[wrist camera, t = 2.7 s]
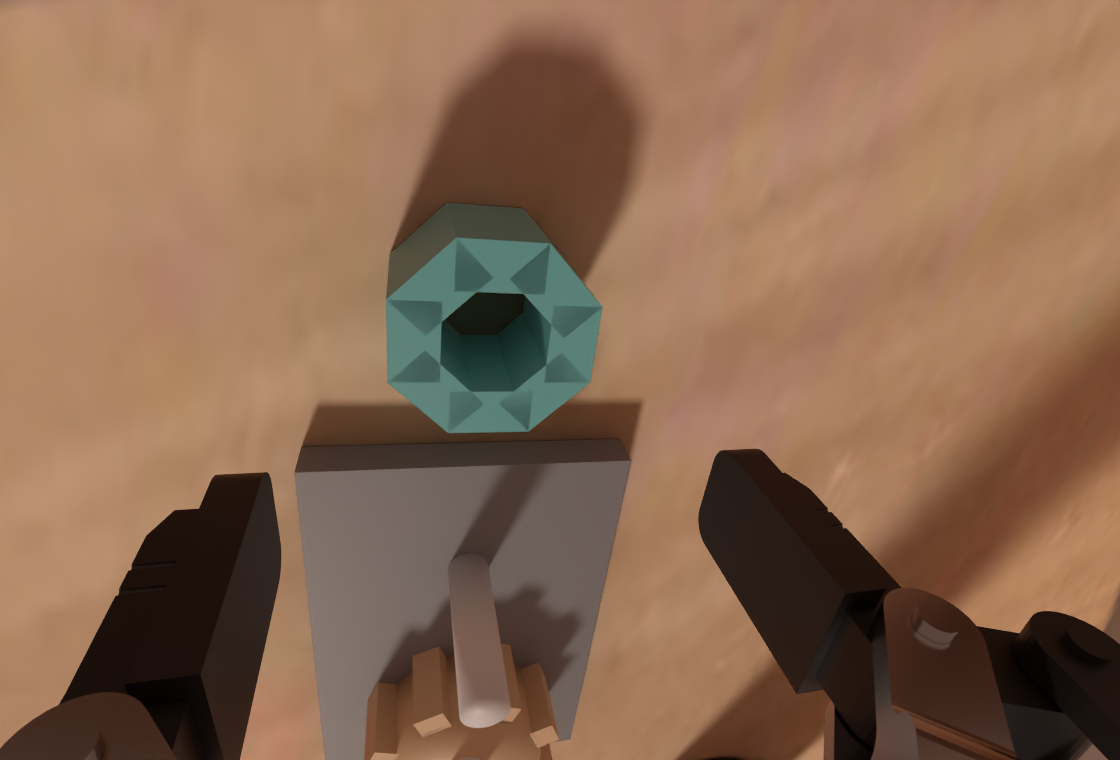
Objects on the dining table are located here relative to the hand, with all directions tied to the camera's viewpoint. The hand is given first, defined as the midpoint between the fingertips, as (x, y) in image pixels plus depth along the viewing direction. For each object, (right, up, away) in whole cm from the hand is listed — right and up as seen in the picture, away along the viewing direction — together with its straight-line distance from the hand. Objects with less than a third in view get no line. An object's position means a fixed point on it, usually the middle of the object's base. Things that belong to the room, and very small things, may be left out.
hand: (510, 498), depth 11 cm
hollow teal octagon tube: (-2, +5, +9) cm, 10 cm away
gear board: (-4, -8, +16) cm, 18 cm away
